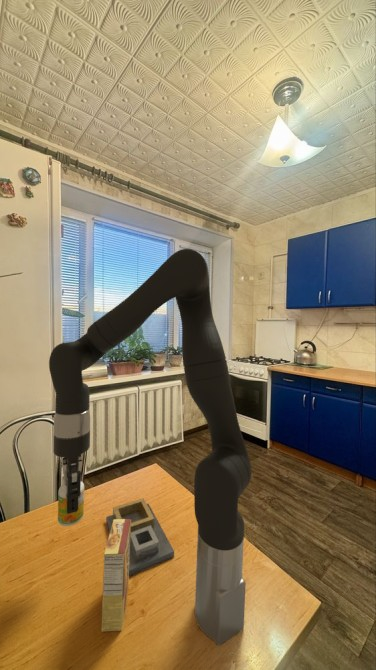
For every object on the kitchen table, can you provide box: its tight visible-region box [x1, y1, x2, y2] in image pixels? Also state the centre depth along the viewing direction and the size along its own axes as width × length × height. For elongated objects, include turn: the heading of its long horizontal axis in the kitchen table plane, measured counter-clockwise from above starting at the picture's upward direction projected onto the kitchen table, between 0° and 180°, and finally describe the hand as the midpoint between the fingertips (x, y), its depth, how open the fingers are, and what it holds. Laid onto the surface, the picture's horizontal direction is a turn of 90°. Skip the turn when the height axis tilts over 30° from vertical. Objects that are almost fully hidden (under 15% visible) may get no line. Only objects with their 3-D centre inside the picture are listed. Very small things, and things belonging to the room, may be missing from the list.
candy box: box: [101, 519, 131, 633], centre depth 52 cm, size 9×4×15 cm, turn 6°
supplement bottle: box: [57, 475, 85, 527], centre depth 58 cm, size 5×5×10 cm
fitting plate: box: [105, 498, 175, 578], centre depth 69 cm, size 19×13×4 cm
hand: (71, 502), depth 58 cm, fingers closed on supplement bottle, 5 cm apart
